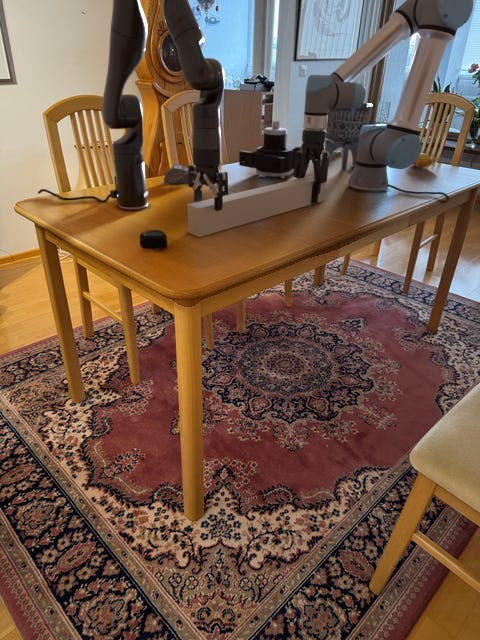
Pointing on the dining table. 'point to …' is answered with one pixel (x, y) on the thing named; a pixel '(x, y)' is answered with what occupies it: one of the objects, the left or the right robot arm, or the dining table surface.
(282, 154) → the mechanical component
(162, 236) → the tape measure
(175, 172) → the rock
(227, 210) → the bar
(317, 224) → the dining table surface
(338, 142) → the planter
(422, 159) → the toy
